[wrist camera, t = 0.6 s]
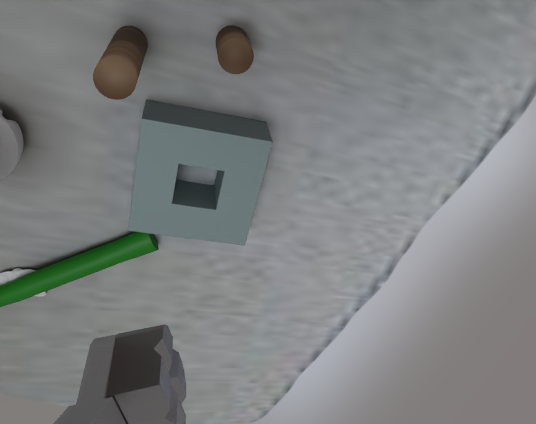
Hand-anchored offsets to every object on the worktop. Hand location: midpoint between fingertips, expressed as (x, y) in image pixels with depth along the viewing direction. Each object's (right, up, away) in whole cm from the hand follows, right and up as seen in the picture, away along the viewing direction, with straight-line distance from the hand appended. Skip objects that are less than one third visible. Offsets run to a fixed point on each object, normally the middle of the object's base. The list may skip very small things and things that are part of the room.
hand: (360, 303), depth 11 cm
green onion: (-29, -6, +47) cm, 56 cm away
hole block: (-9, +7, +42) cm, 44 cm away
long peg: (-14, +17, +35) cm, 42 cm away
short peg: (-5, +18, +36) cm, 41 cm away
